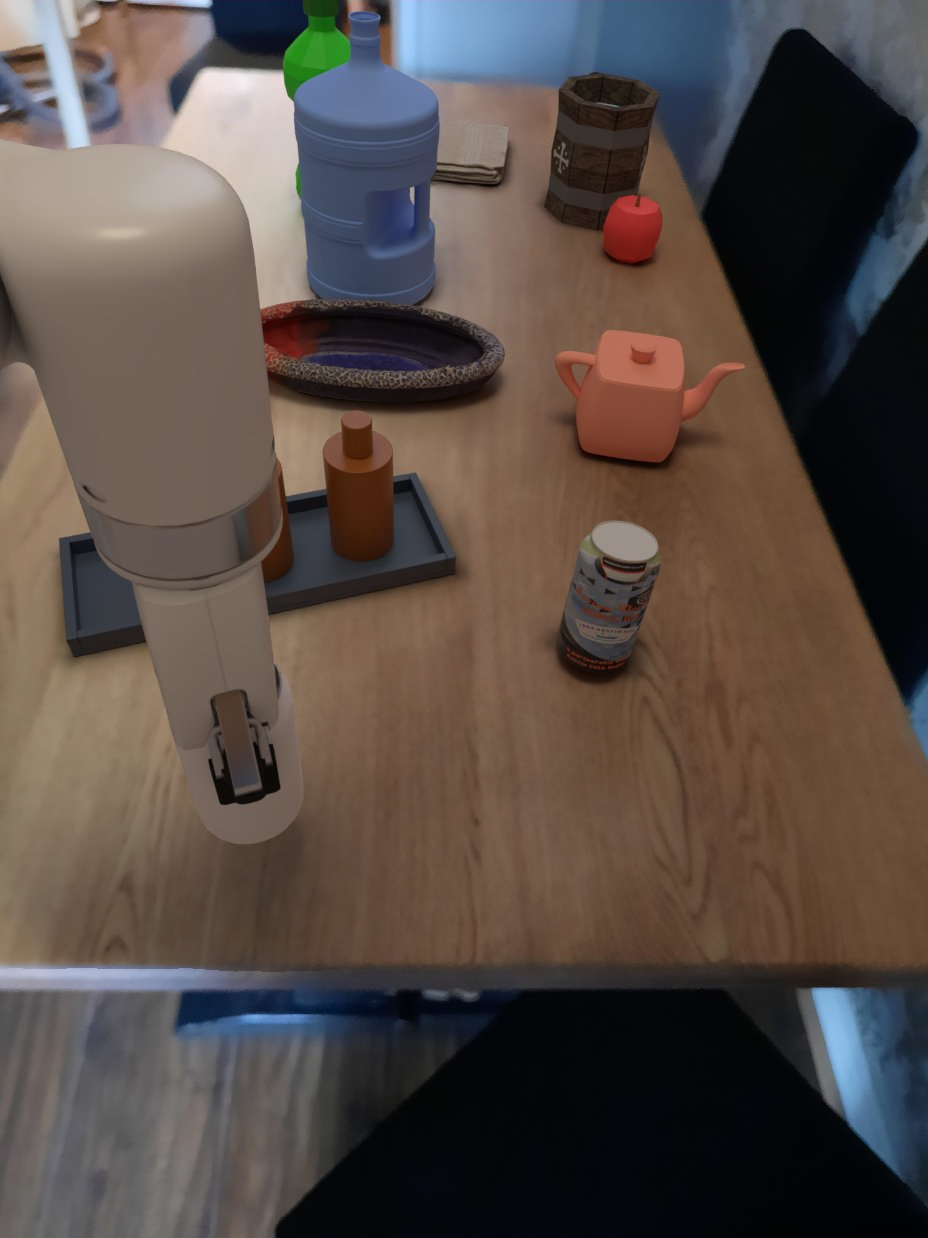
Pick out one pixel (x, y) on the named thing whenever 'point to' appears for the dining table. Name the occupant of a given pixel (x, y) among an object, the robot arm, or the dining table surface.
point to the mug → (598, 146)
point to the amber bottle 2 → (359, 489)
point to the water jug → (367, 175)
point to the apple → (632, 228)
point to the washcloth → (471, 153)
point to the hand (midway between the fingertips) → (238, 737)
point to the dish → (376, 350)
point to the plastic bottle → (315, 50)
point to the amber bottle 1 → (280, 543)
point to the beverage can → (608, 596)
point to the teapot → (635, 394)
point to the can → (274, 808)
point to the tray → (317, 575)
